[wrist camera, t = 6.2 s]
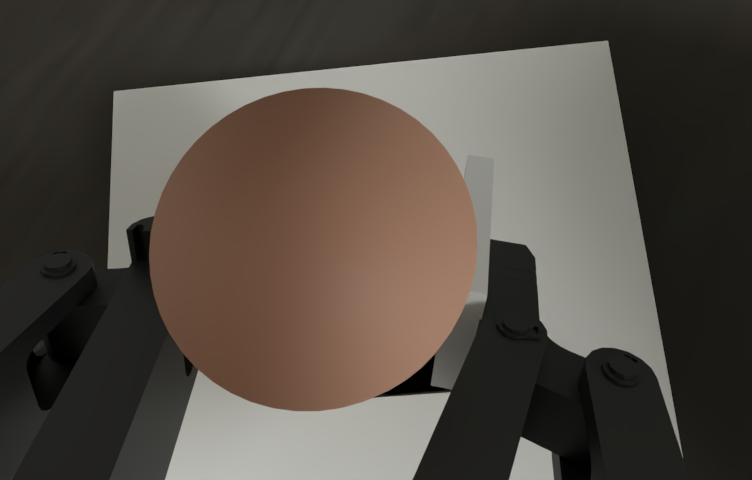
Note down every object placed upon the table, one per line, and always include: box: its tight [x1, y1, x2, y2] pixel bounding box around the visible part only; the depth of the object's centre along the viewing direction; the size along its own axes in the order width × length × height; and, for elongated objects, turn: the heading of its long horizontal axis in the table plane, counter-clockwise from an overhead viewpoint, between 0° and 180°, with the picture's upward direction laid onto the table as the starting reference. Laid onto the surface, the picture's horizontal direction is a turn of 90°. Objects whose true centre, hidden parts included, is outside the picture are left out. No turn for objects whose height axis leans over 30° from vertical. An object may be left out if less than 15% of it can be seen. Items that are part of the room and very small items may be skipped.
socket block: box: [108, 41, 683, 480], centre depth 21 cm, size 18×18×3 cm
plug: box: [149, 88, 478, 411], centre depth 15 cm, size 5×5×14 cm
